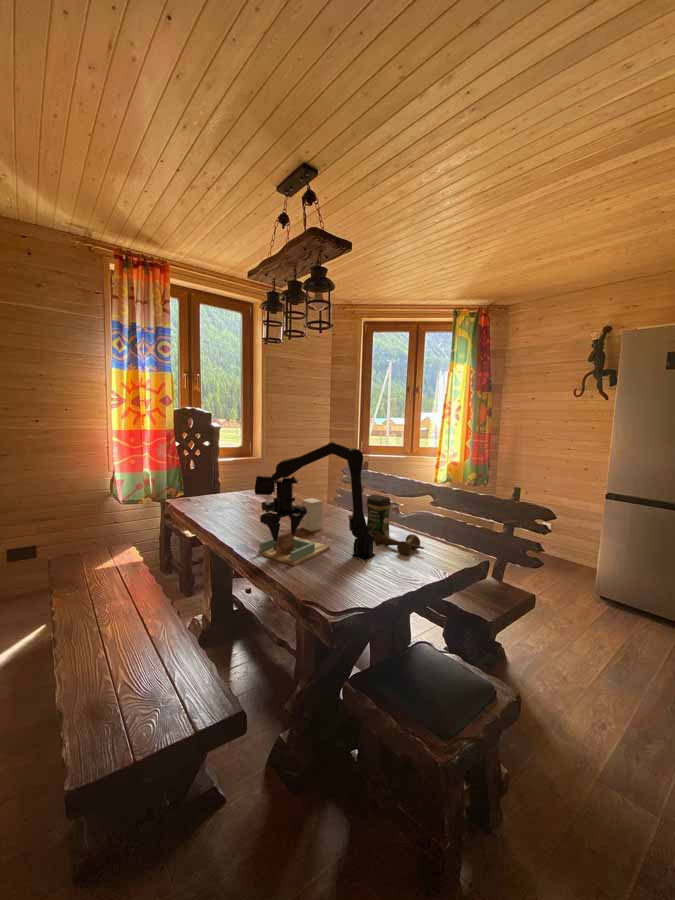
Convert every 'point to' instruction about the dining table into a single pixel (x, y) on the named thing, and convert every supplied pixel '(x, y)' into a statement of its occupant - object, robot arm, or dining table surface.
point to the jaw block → (284, 544)
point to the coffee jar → (378, 515)
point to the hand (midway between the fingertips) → (284, 537)
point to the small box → (313, 514)
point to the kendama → (399, 543)
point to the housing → (303, 546)
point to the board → (287, 558)
